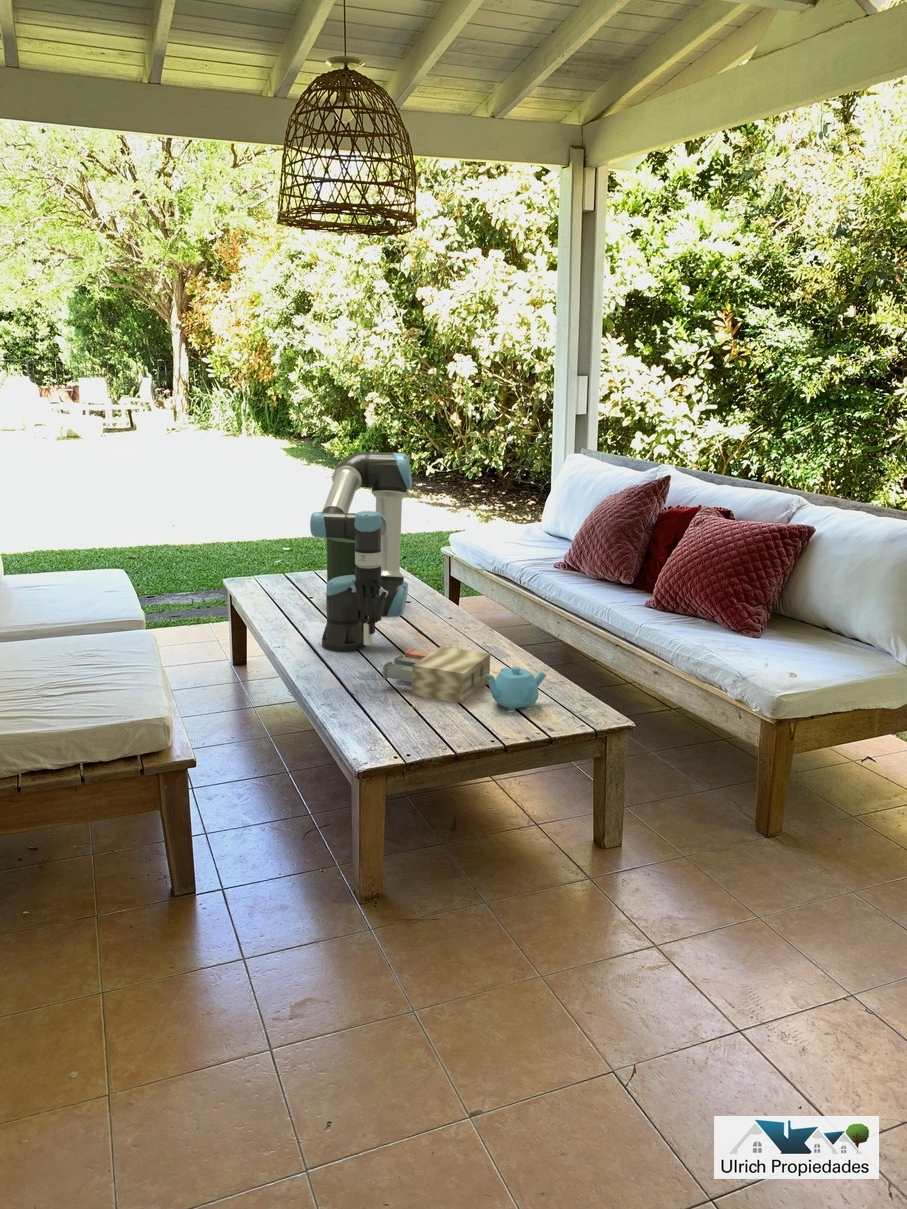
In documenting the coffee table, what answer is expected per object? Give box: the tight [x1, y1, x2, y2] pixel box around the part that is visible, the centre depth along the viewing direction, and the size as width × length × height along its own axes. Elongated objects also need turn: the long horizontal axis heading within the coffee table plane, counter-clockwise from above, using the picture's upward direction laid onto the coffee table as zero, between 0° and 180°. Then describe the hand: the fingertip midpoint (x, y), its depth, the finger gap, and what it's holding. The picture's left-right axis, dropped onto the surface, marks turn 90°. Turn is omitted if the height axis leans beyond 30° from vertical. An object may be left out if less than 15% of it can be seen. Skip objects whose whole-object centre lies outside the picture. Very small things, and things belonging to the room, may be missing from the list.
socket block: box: [411, 646, 491, 705], centre depth 281 cm, size 16×20×9 cm
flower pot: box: [326, 538, 357, 584], centre depth 362 cm, size 25×25×28 cm
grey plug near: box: [382, 661, 413, 683], centre depth 279 cm, size 17×4×4 cm, turn 66°
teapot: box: [485, 666, 547, 712], centre depth 268 cm, size 15×14×11 cm
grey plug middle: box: [393, 654, 420, 667], centre depth 285 cm, size 17×4×4 cm, turn 66°
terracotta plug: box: [404, 648, 431, 660], centre depth 291 cm, size 17×4×4 cm, turn 66°
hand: (368, 643), depth 282 cm, fingers closed
